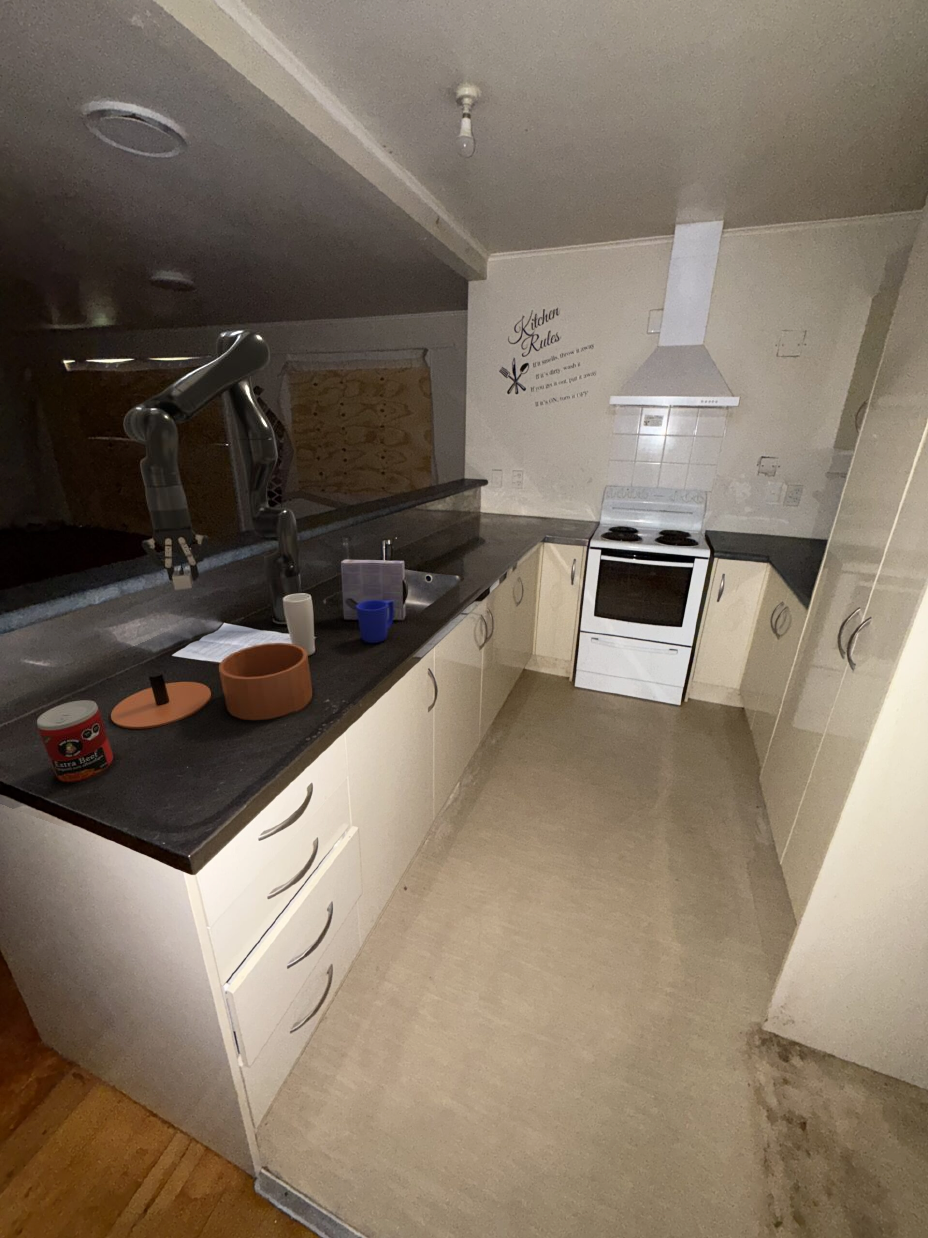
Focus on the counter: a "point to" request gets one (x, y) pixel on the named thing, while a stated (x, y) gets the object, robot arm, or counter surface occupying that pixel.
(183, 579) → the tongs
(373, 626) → the mug
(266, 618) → the counter surface
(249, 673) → the pot
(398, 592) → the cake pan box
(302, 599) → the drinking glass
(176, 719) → the pot lid
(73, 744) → the canned food
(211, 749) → the counter surface
